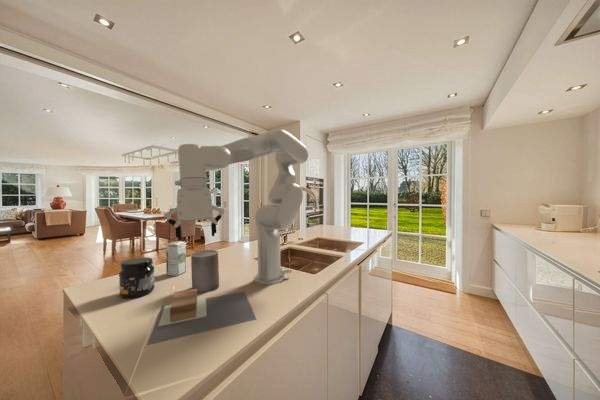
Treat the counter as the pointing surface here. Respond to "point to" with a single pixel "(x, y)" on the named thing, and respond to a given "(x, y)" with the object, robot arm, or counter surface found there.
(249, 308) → the mat
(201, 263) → the pillar candle
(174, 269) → the syrup box
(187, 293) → the brown rectangular block
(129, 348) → the counter surface
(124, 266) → the supplement container
